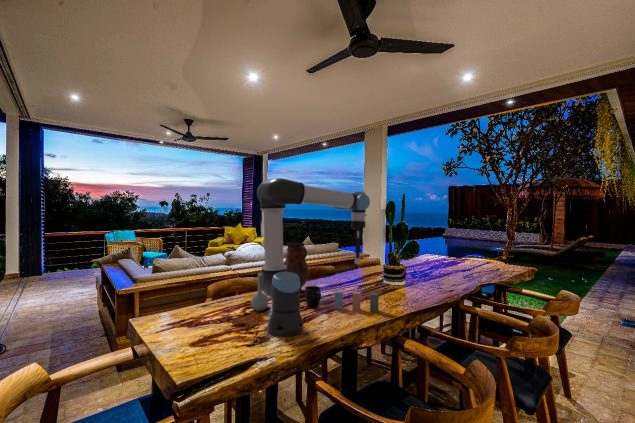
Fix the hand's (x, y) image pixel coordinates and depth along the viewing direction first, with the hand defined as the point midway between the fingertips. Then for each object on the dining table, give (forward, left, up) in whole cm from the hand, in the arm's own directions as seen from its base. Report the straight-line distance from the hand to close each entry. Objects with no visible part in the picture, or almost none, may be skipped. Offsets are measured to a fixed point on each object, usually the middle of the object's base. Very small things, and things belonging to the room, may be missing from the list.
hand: (357, 263), depth 161 cm
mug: (-23, +7, -22) cm, 33 cm away
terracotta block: (-6, -7, -22) cm, 24 cm away
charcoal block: (+1, -13, -22) cm, 25 cm away
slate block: (-13, -1, -22) cm, 26 cm away
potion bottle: (-49, +18, -22) cm, 56 cm away
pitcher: (-20, +34, -22) cm, 45 cm away
